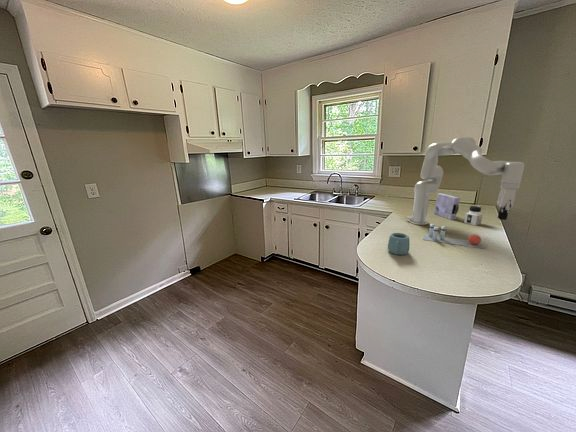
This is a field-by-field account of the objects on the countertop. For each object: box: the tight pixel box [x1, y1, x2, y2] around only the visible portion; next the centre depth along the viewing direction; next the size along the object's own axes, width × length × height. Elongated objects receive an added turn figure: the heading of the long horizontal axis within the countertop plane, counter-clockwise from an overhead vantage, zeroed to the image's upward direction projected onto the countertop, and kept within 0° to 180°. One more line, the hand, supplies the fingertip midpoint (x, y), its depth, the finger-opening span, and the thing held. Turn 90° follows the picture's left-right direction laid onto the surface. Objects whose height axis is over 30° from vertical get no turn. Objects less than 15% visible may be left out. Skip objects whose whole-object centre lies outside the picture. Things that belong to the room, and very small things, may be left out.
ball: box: [467, 234, 482, 245], centre depth 141 cm, size 6×6×6 cm
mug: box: [387, 232, 410, 256], centre depth 132 cm, size 15×11×10 cm
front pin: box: [439, 225, 447, 240], centre depth 149 cm, size 2×2×8 cm
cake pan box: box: [433, 192, 461, 221], centre depth 194 cm, size 19×5×18 cm, turn 9°
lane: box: [422, 234, 484, 249], centre depth 148 cm, size 30×10×1 cm, turn 60°
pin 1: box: [428, 223, 436, 237], centre depth 154 cm, size 2×2×8 cm
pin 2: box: [432, 226, 439, 242], centre depth 148 cm, size 2×2×8 cm
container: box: [464, 205, 484, 226], centre depth 177 cm, size 8×8×13 cm
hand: (501, 218), depth 133 cm, fingers closed
